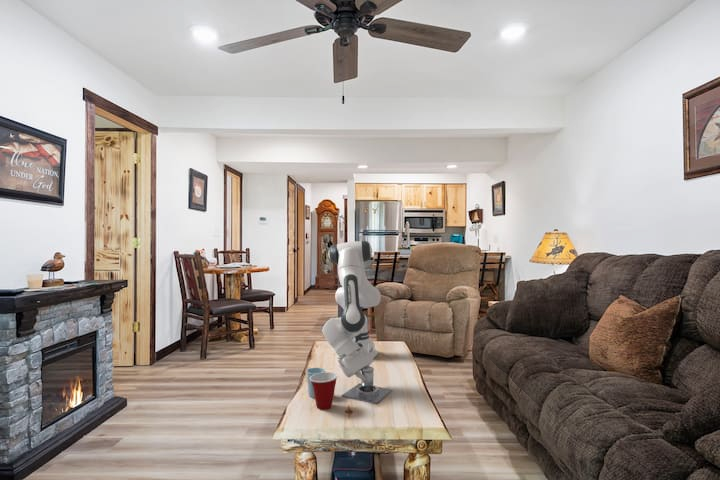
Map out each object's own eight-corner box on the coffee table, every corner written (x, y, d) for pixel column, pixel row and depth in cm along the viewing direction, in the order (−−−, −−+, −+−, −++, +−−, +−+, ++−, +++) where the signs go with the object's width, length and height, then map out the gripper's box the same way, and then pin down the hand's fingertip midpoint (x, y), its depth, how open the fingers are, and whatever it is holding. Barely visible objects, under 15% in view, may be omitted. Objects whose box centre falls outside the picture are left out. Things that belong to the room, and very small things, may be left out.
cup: (326, 398, 164) (326, 372, 164) (307, 400, 162) (307, 374, 162) (323, 391, 171) (323, 367, 171) (305, 393, 169) (305, 368, 169)
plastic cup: (310, 401, 160) (310, 371, 160) (337, 400, 161) (337, 370, 161) (308, 413, 149) (308, 380, 149) (337, 412, 150) (337, 380, 150)
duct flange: (359, 384, 179) (359, 379, 180) (392, 390, 172) (392, 385, 172) (341, 396, 165) (341, 391, 165) (376, 404, 158) (376, 398, 158)
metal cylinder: (364, 386, 172) (364, 365, 172) (375, 388, 170) (375, 367, 170) (359, 390, 168) (359, 369, 168) (370, 392, 165) (370, 371, 165)
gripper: (340, 353, 163) (362, 381, 158) (363, 342, 181) (383, 367, 176) (331, 362, 165) (352, 390, 160) (355, 350, 183) (374, 375, 178)
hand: (368, 378), depth 168 cm, fingers closed on metal cylinder, 5 cm apart
